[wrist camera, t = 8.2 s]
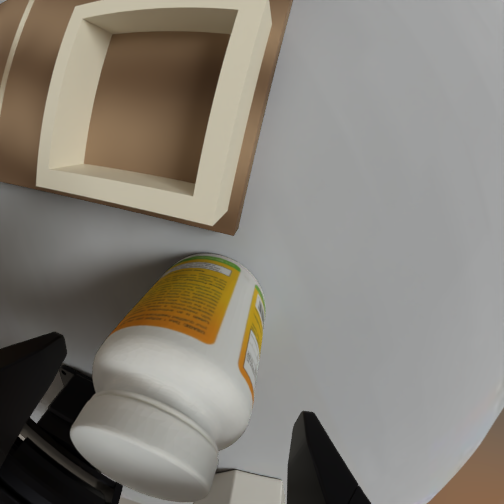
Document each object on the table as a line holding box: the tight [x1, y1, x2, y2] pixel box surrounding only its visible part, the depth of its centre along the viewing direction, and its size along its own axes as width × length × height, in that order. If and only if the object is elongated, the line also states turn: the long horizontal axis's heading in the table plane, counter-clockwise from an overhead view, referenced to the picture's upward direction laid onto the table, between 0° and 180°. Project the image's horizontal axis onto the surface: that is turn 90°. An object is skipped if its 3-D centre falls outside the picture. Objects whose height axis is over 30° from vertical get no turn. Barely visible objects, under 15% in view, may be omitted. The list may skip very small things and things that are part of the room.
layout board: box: [0, 0, 293, 236], centre depth 10 cm, size 14×33×1 cm, turn 77°
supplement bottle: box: [70, 253, 265, 502], centre depth 10 cm, size 5×5×10 cm
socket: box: [36, 0, 272, 226], centre depth 9 cm, size 8×8×2 cm
